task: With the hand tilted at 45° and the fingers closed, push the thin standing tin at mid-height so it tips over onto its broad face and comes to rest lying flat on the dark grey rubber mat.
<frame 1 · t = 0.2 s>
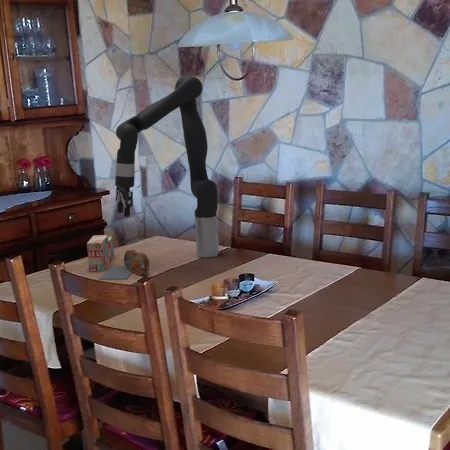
hand: (123, 214, 253), 22 cm above the table, tool pointing down, fingers open, 8 cm apart
mat: (118, 272, 252), on the table
stack of blocks: (102, 264, 266), on the table
tin: (137, 272, 251), on the table, touching mat
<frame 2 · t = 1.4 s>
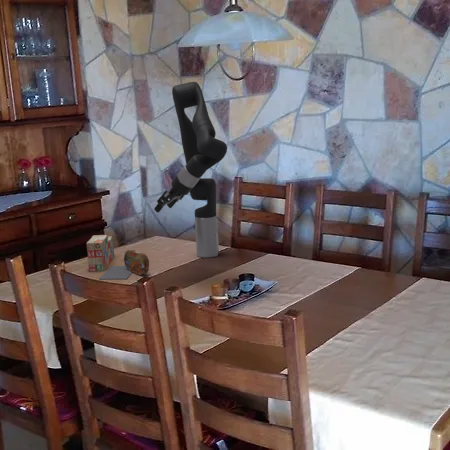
hand: (162, 208, 239), 27 cm above the table, tool tilted 45°, fingers open, 8 cm apart
nothing on the table moved.
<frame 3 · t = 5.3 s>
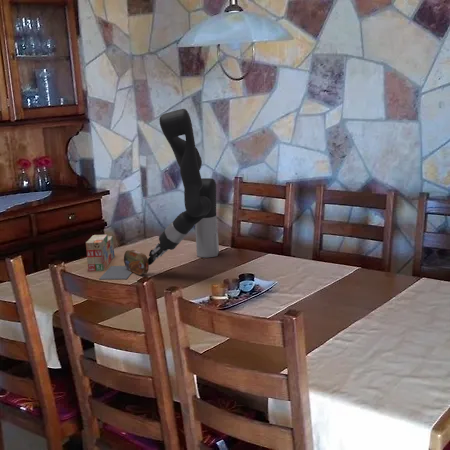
hand: (148, 263, 248), 4 cm above the table, tool tilted 45°, fingers closed
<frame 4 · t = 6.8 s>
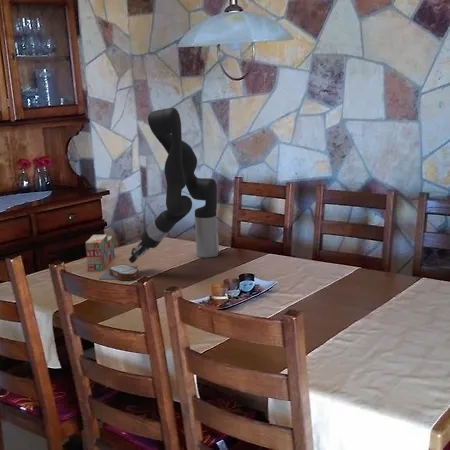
hand: (131, 261, 252), 4 cm above the table, tool tilted 45°, fingers closed
tin: (133, 268, 250), point 2 cm above the table, touching mat
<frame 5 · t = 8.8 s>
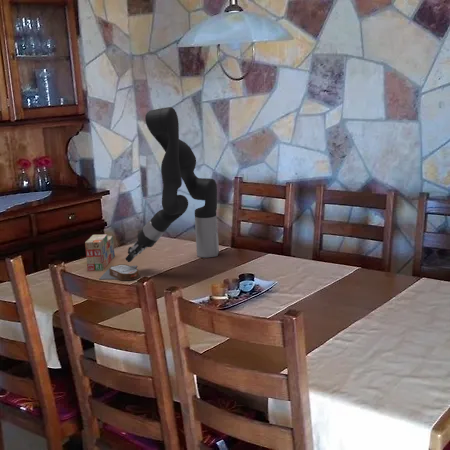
hand: (127, 260, 253), 5 cm above the table, tool tilted 45°, fingers closed
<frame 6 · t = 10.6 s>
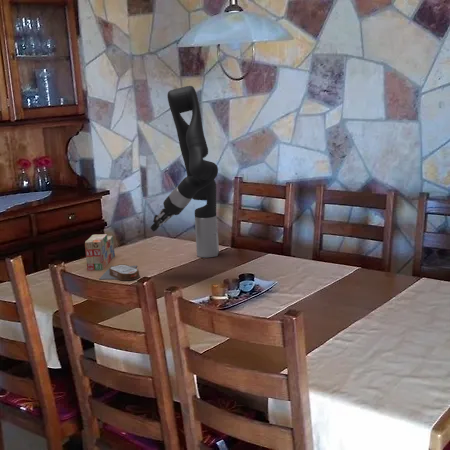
hand: (152, 229, 244), 18 cm above the table, tool tilted 45°, fingers closed
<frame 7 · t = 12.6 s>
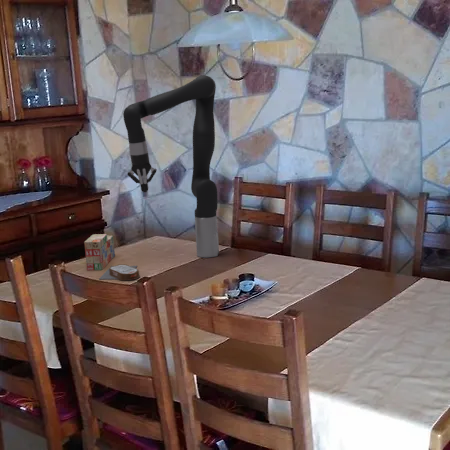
hand: (145, 191, 271), 28 cm above the table, tool pointing down, fingers closed
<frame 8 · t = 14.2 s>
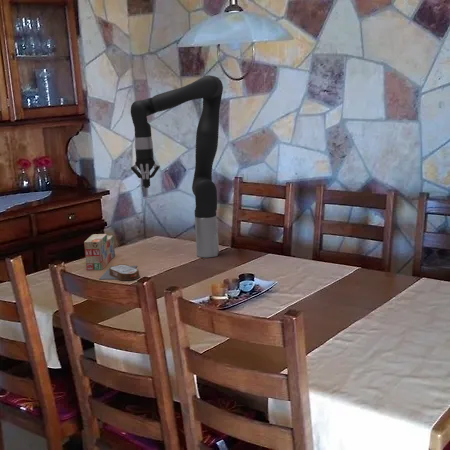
hand: (146, 187, 274), 29 cm above the table, tool pointing down, fingers closed
at the end: tin tilted 94°; tin touching mat; the gripper is holding nothing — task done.
